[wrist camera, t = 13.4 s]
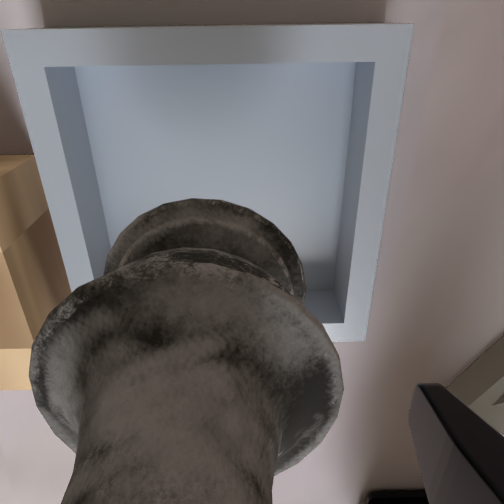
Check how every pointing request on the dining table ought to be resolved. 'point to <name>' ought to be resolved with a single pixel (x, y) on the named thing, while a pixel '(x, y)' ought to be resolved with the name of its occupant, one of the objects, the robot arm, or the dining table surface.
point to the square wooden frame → (25, 267)
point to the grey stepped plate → (484, 386)
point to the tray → (221, 137)
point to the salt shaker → (187, 363)
